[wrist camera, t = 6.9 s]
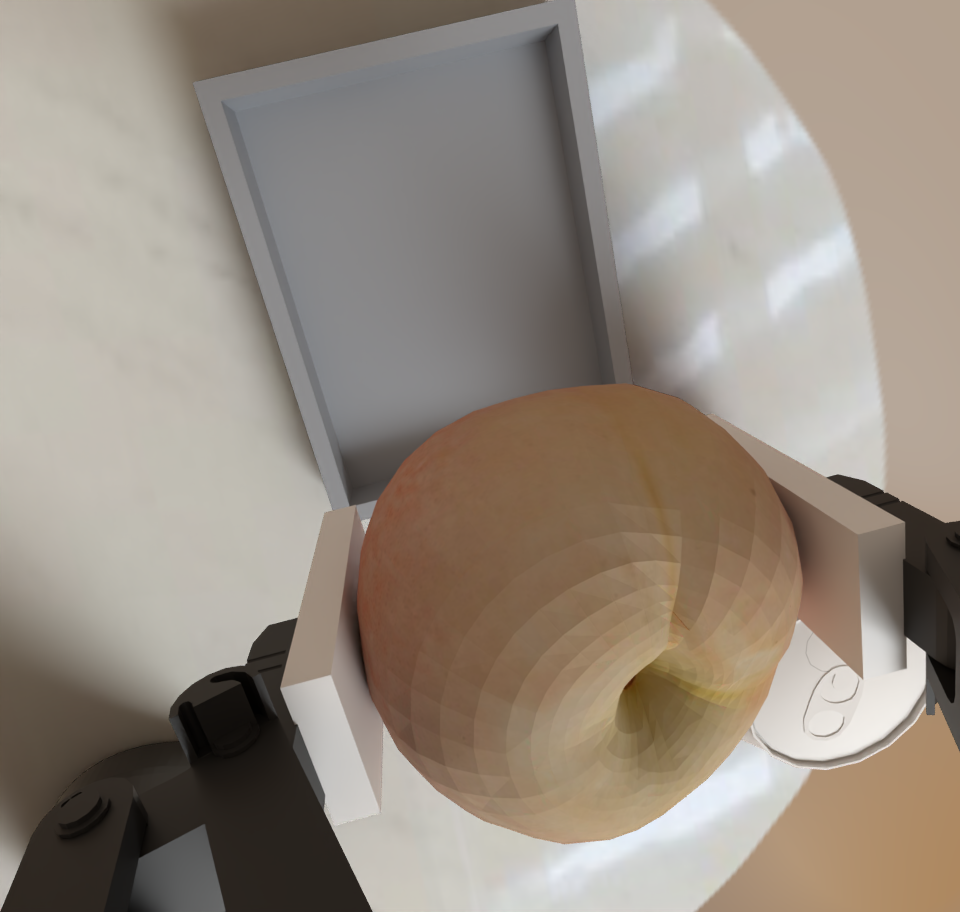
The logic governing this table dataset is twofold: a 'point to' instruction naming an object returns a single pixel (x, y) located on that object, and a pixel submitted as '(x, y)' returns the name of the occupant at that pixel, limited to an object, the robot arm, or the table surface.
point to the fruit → (575, 607)
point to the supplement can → (835, 706)
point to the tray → (423, 230)
